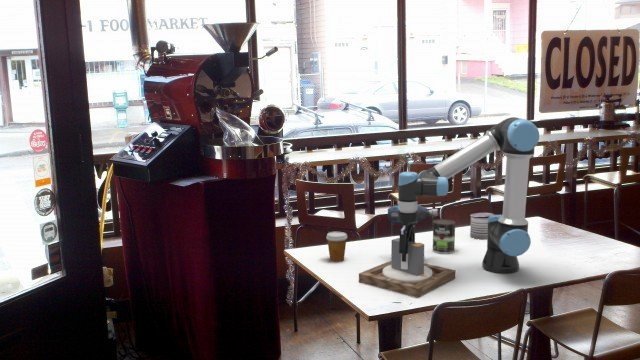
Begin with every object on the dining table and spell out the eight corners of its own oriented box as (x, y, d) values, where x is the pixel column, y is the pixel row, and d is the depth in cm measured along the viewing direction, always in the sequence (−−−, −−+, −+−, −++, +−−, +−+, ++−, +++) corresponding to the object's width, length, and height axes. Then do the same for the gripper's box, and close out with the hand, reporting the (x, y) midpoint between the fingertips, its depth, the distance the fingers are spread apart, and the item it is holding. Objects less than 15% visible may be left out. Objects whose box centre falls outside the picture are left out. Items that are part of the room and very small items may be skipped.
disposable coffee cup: (351, 259, 285) (351, 233, 283) (338, 264, 278) (337, 238, 276) (336, 255, 291) (335, 230, 289) (322, 260, 285) (321, 234, 282)
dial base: (455, 278, 257) (455, 269, 257) (417, 297, 237) (417, 288, 236) (398, 265, 276) (398, 256, 275) (358, 281, 255) (358, 273, 255)
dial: (372, 275, 257) (372, 241, 255) (405, 264, 270) (405, 232, 267) (409, 287, 242) (409, 251, 240) (442, 276, 255) (443, 241, 252)
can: (478, 241, 311) (479, 217, 309) (465, 235, 322) (465, 212, 319) (497, 238, 316) (498, 214, 314) (483, 232, 326) (483, 210, 324)
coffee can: (452, 255, 289) (453, 225, 287) (430, 252, 293) (430, 223, 290) (456, 248, 299) (457, 220, 296) (435, 246, 302) (435, 218, 300)
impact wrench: (437, 263, 278) (438, 207, 273) (386, 260, 282) (386, 206, 278) (438, 257, 285) (439, 203, 281) (388, 255, 290) (388, 202, 285)
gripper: (406, 205, 261) (405, 258, 265) (390, 215, 245) (390, 272, 249) (423, 206, 258) (422, 261, 262) (409, 216, 241) (408, 274, 246)
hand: (407, 266), depth 255 cm, fingers closed on dial, 6 cm apart
